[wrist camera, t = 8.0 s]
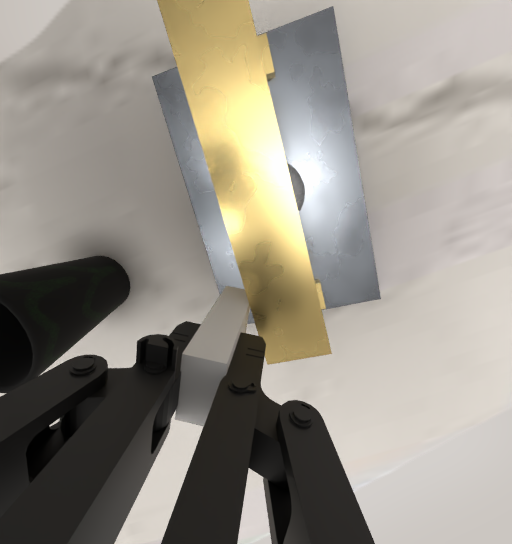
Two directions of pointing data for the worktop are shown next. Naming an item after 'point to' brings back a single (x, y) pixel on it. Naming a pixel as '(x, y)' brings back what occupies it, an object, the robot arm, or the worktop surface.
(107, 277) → the cup
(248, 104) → the flat gold bar
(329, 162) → the plate
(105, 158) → the worktop surface
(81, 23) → the worktop surface
